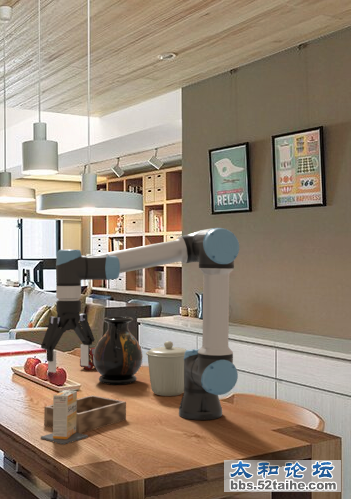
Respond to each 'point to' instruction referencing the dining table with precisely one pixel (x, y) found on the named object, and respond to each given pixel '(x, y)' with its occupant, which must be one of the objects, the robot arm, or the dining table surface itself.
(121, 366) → the black painted vase
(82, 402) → the crate
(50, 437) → the mat
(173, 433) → the dining table surface
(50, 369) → the robot arm
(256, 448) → the dining table surface
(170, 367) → the canister
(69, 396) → the supplement box
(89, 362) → the toy fire truck
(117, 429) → the dining table surface
